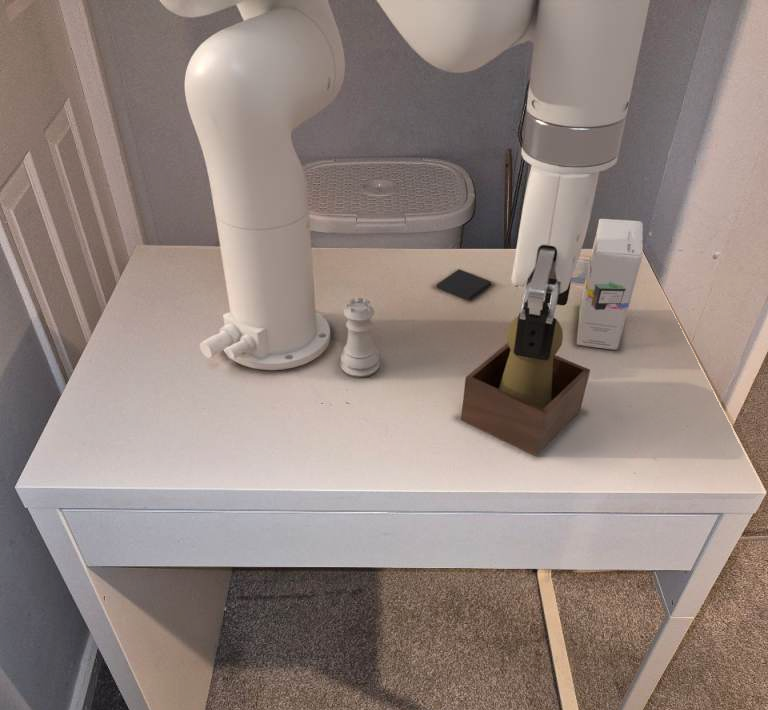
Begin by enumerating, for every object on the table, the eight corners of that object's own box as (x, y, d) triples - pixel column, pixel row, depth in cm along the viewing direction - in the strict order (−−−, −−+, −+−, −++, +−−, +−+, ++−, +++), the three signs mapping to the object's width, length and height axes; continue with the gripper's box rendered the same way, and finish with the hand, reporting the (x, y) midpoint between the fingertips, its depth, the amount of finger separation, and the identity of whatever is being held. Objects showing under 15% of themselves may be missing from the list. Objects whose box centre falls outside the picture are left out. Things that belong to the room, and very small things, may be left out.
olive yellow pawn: (554, 432, 77) (575, 339, 69) (494, 431, 77) (508, 338, 69) (546, 395, 81) (565, 303, 73) (490, 394, 81) (502, 302, 73)
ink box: (578, 307, 94) (598, 214, 86) (619, 312, 93) (643, 219, 85) (574, 345, 88) (596, 250, 80) (618, 351, 88) (644, 255, 79)
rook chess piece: (385, 360, 86) (385, 296, 80) (372, 382, 83) (372, 318, 77) (347, 352, 87) (345, 289, 81) (334, 374, 84) (331, 311, 78)
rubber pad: (468, 300, 95) (469, 297, 95) (436, 287, 97) (436, 284, 97) (490, 284, 98) (491, 281, 97) (458, 272, 100) (459, 269, 99)
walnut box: (536, 456, 75) (544, 413, 71) (460, 419, 79) (465, 377, 75) (580, 412, 80) (590, 369, 76) (507, 379, 84) (513, 337, 80)
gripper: (543, 96, 66) (520, 278, 78) (500, 173, 54) (480, 372, 67) (632, 105, 64) (594, 289, 76) (607, 186, 53) (566, 388, 65)
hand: (541, 328), depth 71 cm, fingers open, 9 cm apart
